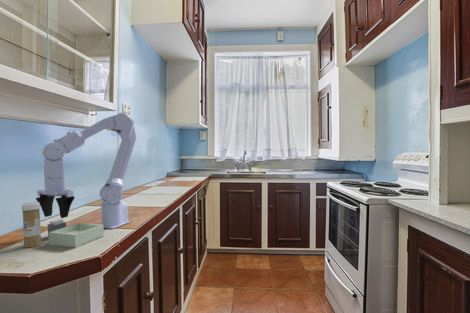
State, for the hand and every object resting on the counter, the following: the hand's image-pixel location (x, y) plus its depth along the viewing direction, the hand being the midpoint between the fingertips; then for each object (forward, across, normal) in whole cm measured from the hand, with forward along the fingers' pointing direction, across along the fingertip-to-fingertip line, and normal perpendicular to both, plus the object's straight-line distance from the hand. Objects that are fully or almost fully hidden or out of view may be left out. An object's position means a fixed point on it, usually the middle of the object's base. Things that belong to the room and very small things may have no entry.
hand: (56, 216), depth 93 cm
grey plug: (+7, 0, 0) cm, 7 cm away
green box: (+7, +12, -2) cm, 14 cm away
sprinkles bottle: (+7, +1, -9) cm, 11 cm away
